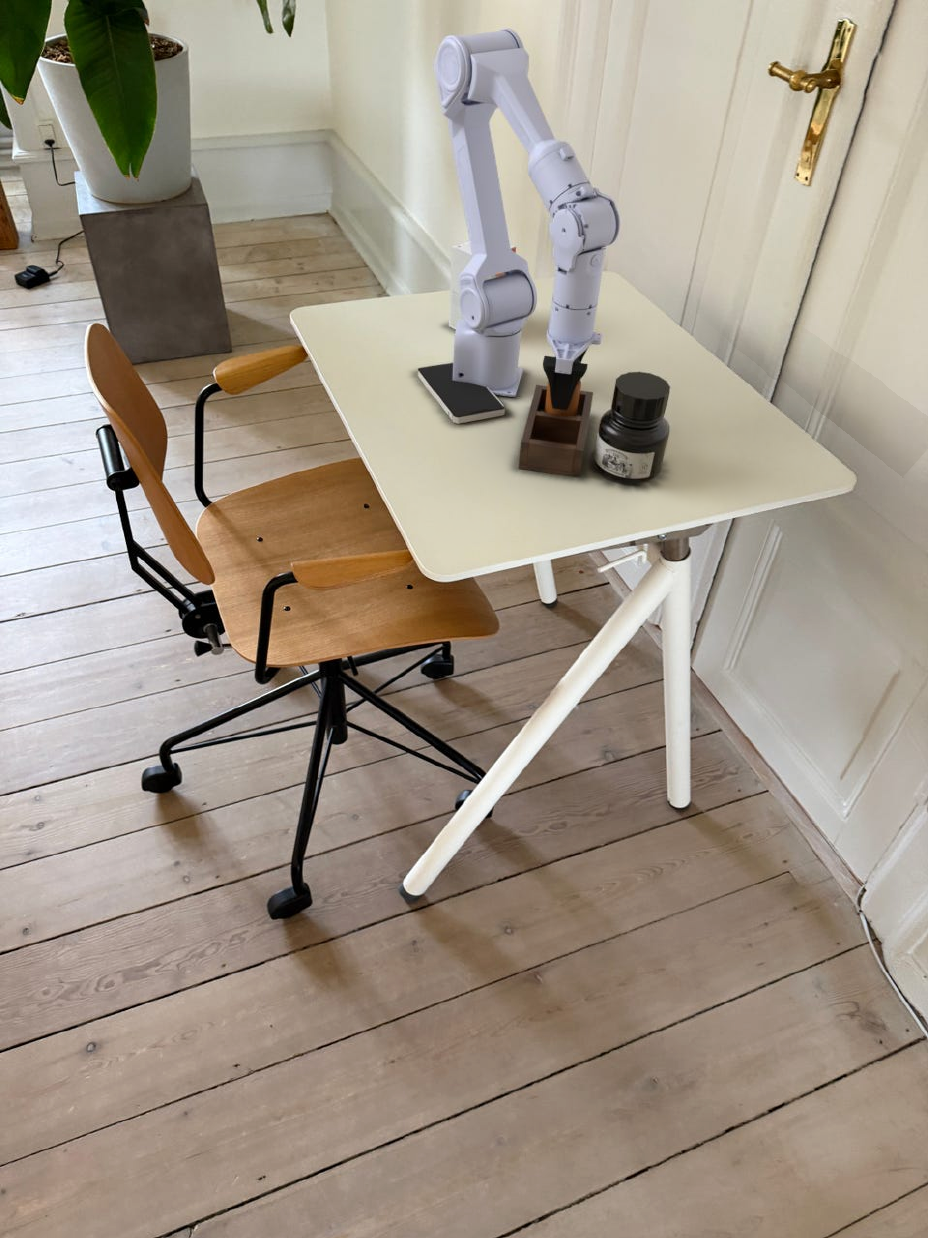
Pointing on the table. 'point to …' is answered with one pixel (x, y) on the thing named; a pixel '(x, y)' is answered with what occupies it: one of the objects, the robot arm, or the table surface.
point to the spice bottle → (573, 405)
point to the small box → (458, 263)
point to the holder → (554, 436)
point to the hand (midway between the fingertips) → (562, 396)
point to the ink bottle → (634, 429)
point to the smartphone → (460, 395)
